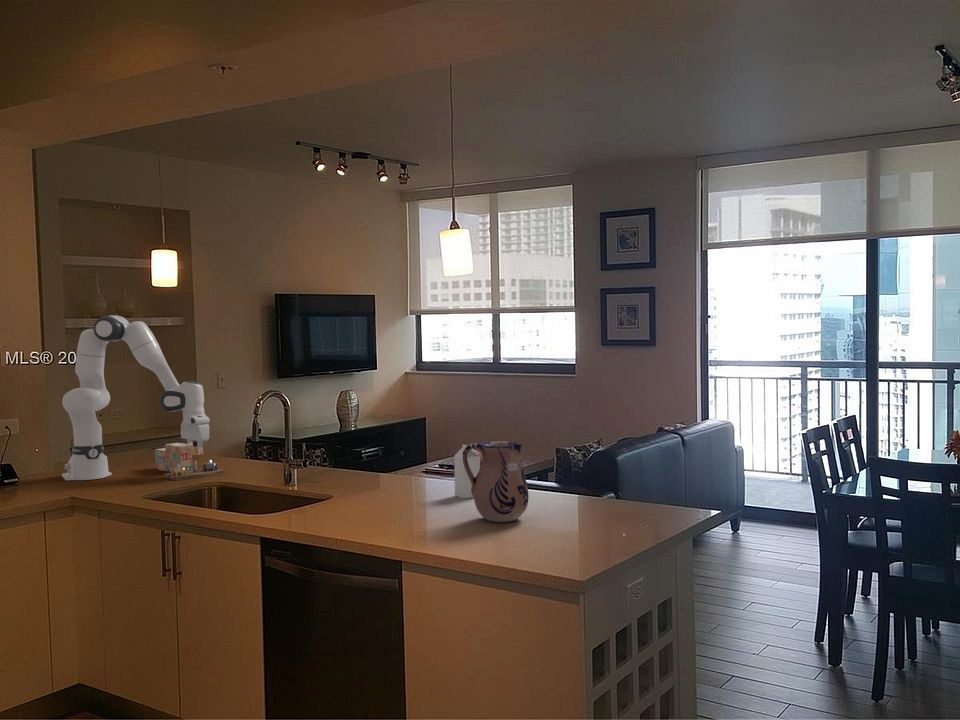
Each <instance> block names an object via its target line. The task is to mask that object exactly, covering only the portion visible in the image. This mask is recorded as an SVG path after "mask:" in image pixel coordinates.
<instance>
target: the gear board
mask: <svg viewBox="0 0 960 720" xmlns="http://www.w3.org/2000/svg"><path fill="white" fill-rule="evenodd" d="M222 473H225V474H226V470H223V469H219V468H218V470H215V471H203V468H199V469H198V466H197V460H193V470H190V471H187V474H184V475H172V472H168V473H164V475H163V478H167V479H169V480H173V481H183V480H191V479H199V477H200V478H206V477H205V476H207V477H212V476H211V475H215V476H218V475H217V474H222ZM222 475H223V474H222Z"/></svg>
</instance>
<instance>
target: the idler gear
mask: <svg viewBox="0 0 960 720" xmlns="http://www.w3.org/2000/svg"><path fill="white" fill-rule="evenodd" d="M196 447H197V446H194V447H188V448H187V449H188V455H193V456H200V455H204V451H203V450H204V449H203V448H204V447H203V446H202V451H197V450H196Z"/></svg>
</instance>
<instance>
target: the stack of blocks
mask: <svg viewBox="0 0 960 720" xmlns="http://www.w3.org/2000/svg"><path fill="white" fill-rule="evenodd" d="M164 446H165V447H162V448H155V449H154V459H155V461H154V462H155V465H154V468H155V470H159V471H164V472H168V471H170V472H169V473H172V468H171V467H175V466H177V464H179V463H181V466H187V471H190V470H193V461H194V460H193V459H194V458H193V457H194V455H188V449H187V448H188V444H187V443H181V442H174V443H173V442H172V443H165V444H164Z"/></svg>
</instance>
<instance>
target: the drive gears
mask: <svg viewBox="0 0 960 720" xmlns="http://www.w3.org/2000/svg"><path fill="white" fill-rule="evenodd" d="M171 468H172V472H171V473H172V475H184V474H187V466H181V463H179V464H177V466H175V467H171ZM202 469H203V471H215V470H218V469H219V468H218V462H214V461H213V460H212V459H208V462H205V463H202Z"/></svg>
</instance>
